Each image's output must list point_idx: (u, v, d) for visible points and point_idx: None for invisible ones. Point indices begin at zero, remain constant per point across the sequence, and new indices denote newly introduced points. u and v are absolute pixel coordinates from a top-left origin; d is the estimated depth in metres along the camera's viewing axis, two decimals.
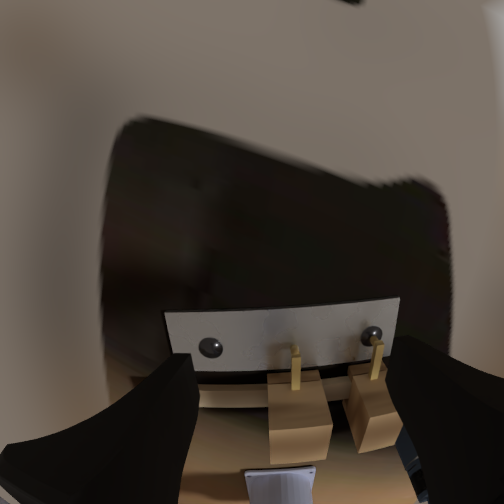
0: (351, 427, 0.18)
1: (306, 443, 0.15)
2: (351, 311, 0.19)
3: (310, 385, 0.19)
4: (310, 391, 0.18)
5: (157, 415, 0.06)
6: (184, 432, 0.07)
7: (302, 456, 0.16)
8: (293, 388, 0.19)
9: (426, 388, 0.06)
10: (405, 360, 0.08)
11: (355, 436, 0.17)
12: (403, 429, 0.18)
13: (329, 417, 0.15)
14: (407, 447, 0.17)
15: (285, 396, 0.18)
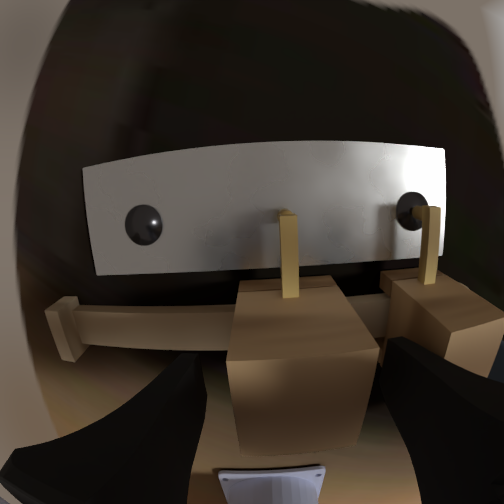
0: None
1: (317, 404, 0.07)
2: (376, 157, 0.11)
3: (319, 291, 0.11)
4: (320, 299, 0.10)
5: (167, 416, 0.06)
6: (192, 433, 0.07)
7: (308, 440, 0.08)
8: (286, 293, 0.10)
9: (419, 390, 0.06)
10: (398, 361, 0.08)
11: None
12: None
13: (368, 336, 0.07)
14: None
15: (270, 306, 0.10)
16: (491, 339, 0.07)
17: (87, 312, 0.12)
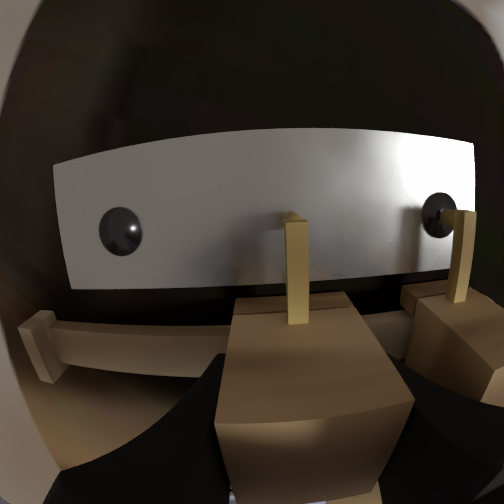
0: None
1: (330, 462, 0.05)
2: (400, 150, 0.09)
3: (332, 315, 0.08)
4: (335, 326, 0.08)
5: None
6: None
7: (316, 492, 0.05)
8: (292, 319, 0.08)
9: None
10: None
11: None
12: None
13: (399, 381, 0.05)
14: None
15: (273, 336, 0.08)
16: None
17: (63, 330, 0.10)
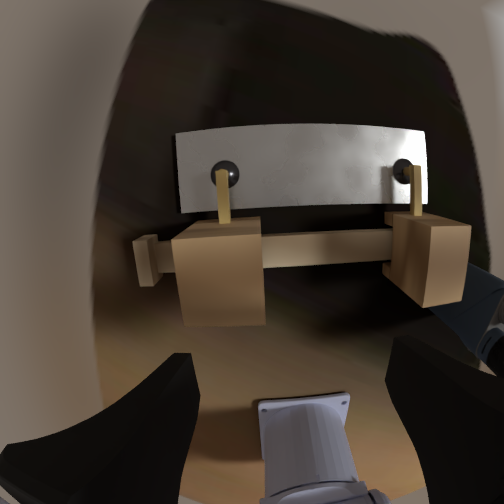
0: (403, 285, 0.16)
1: (227, 275, 0.13)
2: (378, 136, 0.16)
3: (244, 221, 0.16)
4: (242, 223, 0.16)
5: (157, 415, 0.06)
6: (184, 433, 0.07)
7: (227, 311, 0.13)
8: (221, 220, 0.16)
9: (426, 388, 0.06)
10: (405, 360, 0.08)
11: (413, 288, 0.14)
12: (460, 303, 0.16)
13: (258, 231, 0.13)
14: (472, 322, 0.14)
15: (209, 226, 0.16)
16: (461, 240, 0.12)
17: (169, 243, 0.18)
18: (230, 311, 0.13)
